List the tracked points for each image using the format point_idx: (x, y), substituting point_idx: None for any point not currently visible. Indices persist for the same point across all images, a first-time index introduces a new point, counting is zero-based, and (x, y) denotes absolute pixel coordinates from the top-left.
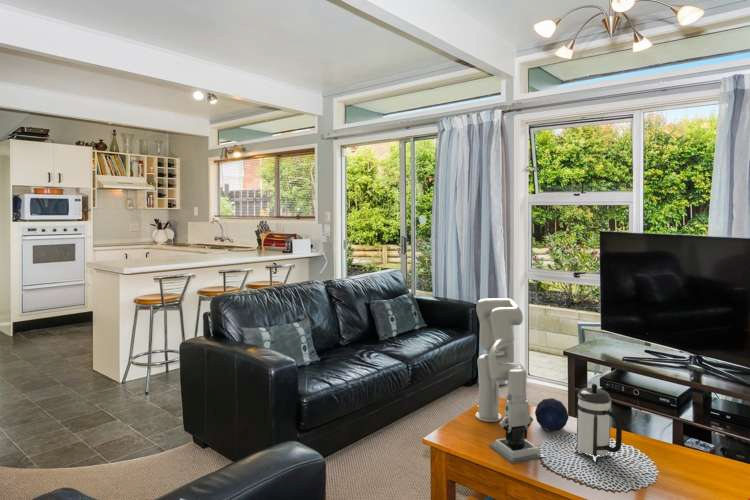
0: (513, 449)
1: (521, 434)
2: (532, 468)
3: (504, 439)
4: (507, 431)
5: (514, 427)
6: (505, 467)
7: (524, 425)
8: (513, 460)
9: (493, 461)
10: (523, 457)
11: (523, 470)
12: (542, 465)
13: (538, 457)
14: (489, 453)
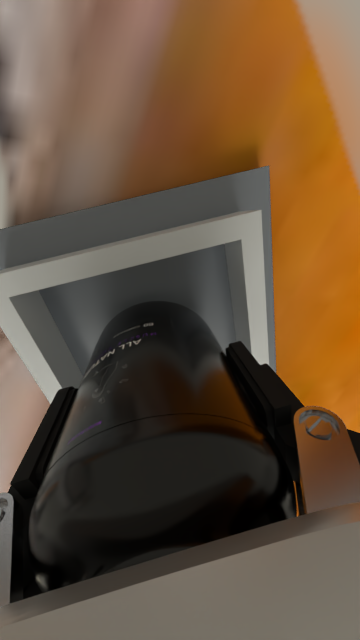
0: None
1: (131, 382)
2: (121, 29)
3: None
4: (335, 424)
5: (265, 506)
6: (329, 109)
7: (10, 591)
8: (245, 175)
9: (348, 222)
10: (147, 217)
11: (219, 3)
12: (4, 78)
13: (15, 226)
14: (310, 322)
